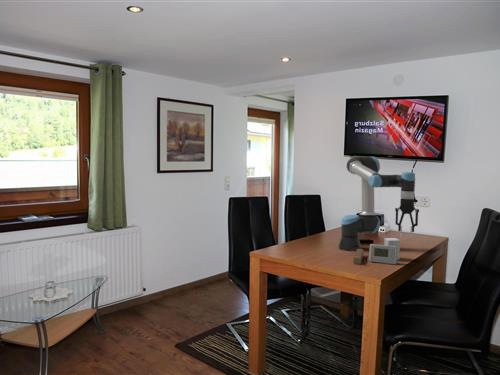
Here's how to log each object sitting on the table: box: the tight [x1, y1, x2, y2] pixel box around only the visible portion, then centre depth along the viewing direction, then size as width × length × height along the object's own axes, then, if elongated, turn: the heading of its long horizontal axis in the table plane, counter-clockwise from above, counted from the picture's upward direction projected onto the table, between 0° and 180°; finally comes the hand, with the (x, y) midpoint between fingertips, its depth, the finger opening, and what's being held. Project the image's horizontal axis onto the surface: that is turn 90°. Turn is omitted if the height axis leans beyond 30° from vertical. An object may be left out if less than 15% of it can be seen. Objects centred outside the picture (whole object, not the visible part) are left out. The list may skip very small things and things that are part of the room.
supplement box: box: [383, 237, 401, 261], centre depth 251 cm, size 7×7×13 cm
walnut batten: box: [353, 248, 364, 266], centre depth 248 cm, size 24×4×4 cm, turn 160°
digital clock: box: [368, 243, 398, 265], centre depth 241 cm, size 16×9×11 cm, turn 56°
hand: (405, 237), depth 236 cm, fingers open, 5 cm apart
